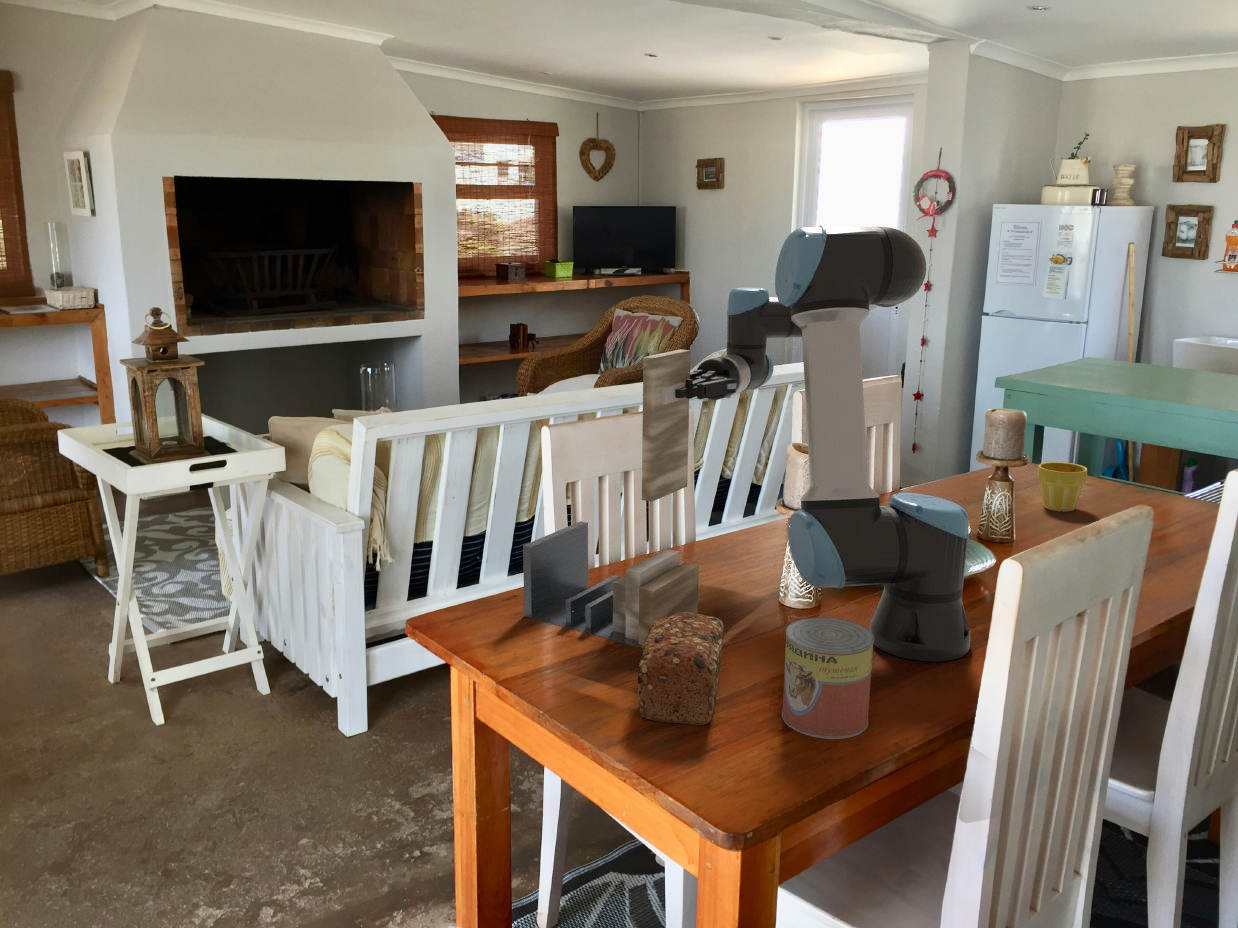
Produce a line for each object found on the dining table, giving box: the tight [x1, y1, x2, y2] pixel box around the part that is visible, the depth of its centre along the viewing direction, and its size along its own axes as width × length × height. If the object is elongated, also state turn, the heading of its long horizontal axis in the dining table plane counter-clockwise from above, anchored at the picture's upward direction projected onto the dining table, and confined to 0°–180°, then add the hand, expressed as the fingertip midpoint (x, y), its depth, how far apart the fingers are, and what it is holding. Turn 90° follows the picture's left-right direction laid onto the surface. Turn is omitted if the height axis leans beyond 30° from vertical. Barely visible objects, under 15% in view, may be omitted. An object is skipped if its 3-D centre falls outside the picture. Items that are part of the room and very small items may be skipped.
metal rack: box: [522, 521, 643, 649], centre depth 162 cm, size 25×16×14 cm, turn 57°
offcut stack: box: [613, 548, 700, 645], centre depth 158 cm, size 8×14×11 cm, turn 147°
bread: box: [637, 612, 725, 726], centre depth 139 cm, size 19×11×10 cm, turn 170°
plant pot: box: [1037, 461, 1088, 513], centre depth 230 cm, size 10×10×10 cm
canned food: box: [781, 616, 874, 740], centre depth 132 cm, size 11×11×12 cm
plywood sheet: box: [641, 349, 691, 503], centre depth 170 cm, size 2×12×24 cm, turn 147°
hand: (656, 395), depth 166 cm, fingers closed on plywood sheet, 2 cm apart
